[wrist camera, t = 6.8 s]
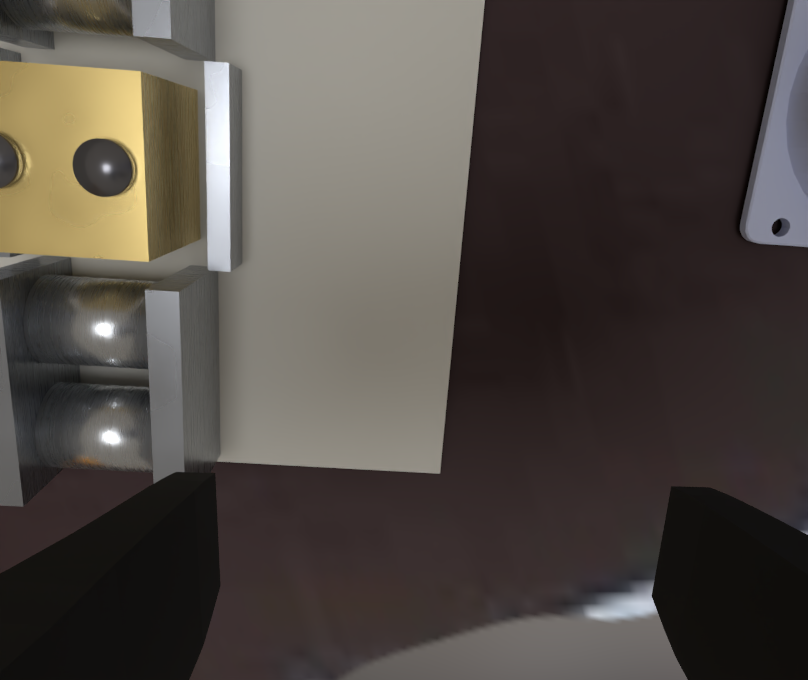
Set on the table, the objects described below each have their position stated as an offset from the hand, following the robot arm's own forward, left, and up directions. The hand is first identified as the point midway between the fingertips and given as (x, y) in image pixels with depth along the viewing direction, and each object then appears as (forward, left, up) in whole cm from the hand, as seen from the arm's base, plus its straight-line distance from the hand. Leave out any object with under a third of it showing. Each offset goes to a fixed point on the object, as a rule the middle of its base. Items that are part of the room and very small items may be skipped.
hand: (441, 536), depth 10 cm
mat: (+6, -5, -10) cm, 13 cm away
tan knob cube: (+9, -5, -10) cm, 14 cm away
